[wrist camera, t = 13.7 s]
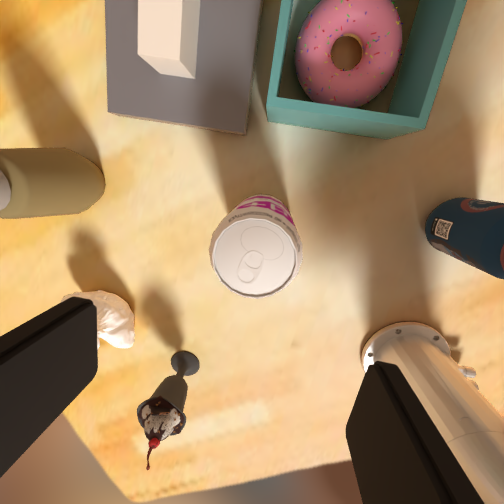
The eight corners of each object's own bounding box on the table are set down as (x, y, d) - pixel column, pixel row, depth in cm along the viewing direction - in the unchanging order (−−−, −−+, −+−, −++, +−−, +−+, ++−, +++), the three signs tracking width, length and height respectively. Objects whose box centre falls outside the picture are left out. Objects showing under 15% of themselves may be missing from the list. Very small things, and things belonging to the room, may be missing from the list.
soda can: (485, 199, 32) (604, 214, 20) (466, 251, 34) (564, 291, 23) (428, 194, 32) (514, 207, 21) (413, 246, 34) (483, 284, 23)
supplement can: (246, 183, 33) (227, 192, 19) (302, 210, 34) (323, 238, 20) (223, 237, 36) (190, 280, 22) (275, 261, 36) (277, 319, 22)
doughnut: (321, -19, 27) (329, -52, 23) (412, 28, 27) (436, 3, 23) (277, 90, 30) (278, 78, 26) (359, 130, 31) (372, 124, 27)
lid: (267, -34, 27) (265, -105, 20) (245, 135, 32) (238, 125, 25) (116, -54, 27) (63, -130, 20) (118, 115, 32) (77, 100, 25)
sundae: (186, 385, 45) (145, 485, 30) (158, 360, 44) (103, 452, 29) (212, 366, 43) (183, 463, 29) (185, 340, 42) (139, 427, 28)
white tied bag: (153, 319, 44) (151, 324, 33) (120, 359, 41) (107, 377, 31) (94, 276, 42) (72, 267, 32) (56, 314, 39) (19, 318, 29)
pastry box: (431, -13, 26) (496, -90, 18) (386, 139, 31) (424, 129, 23) (290, -32, 26) (298, -114, 19) (267, 121, 31) (266, 105, 23)
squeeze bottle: (125, 189, 35) (-15, 206, 18) (86, 220, 37) (-76, 263, 20) (85, 136, 33) (-113, 99, 16) (45, 172, 35) (-170, 173, 18)
